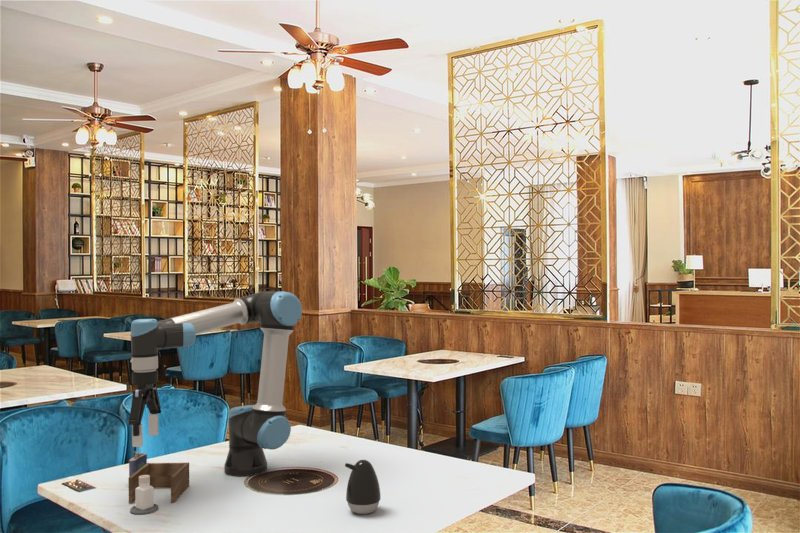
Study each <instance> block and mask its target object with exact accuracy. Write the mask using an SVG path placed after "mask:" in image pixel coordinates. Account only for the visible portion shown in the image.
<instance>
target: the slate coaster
mask: <svg viewBox="0 0 800 533" xmlns="http://www.w3.org/2000/svg"><path fill="white" fill-rule="evenodd" d="M158 510H159V505H158V504H156V503H154V506H153V507H151V508H148V509H146V510H141V509H137V508H136V507H135V505H134V506H132V507H130V510H129V513H130V514H132V515H135V516H136V515H137V516H139V515H142V516H143V515H148V514H152V513H156V512H157V511H158Z"/></svg>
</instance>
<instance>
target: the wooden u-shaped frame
mask: <svg viewBox="0 0 800 533" xmlns="http://www.w3.org/2000/svg"><path fill="white" fill-rule="evenodd" d="M141 475H150V486H152V487H153V489H169V488H170V503H171V504H174V503H176V502H177V501H178V500H179V499H180V498H181V496H182V495H183V494H184V493H185V492H186V491H187V490H189V488H190V462H148V463H147V464H145V465H144V466H143V467H142V468H140V469H139V470H138V471H136V472H135V473H134V474H133V475H131V476H130V477H129V476H128V504H133V503H135V489H136V488H137V487H139V476H141Z"/></svg>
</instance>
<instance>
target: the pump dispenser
mask: <svg viewBox="0 0 800 533" xmlns="http://www.w3.org/2000/svg"><path fill="white" fill-rule="evenodd" d="M344 466H345V467H346V469H347V468H348V469H350V470H351V471H350V474H349V478H348V480H347V486H346V494H345V500H346V502H347V505H348V507H349V509H350V510H351V511H352V512H353V513H355V514H358V515H368V514H369V515H370V514H372V513H373V512H374V511H376V510H377V508H378V506H379V504H380V501H381V488H380V483H379V478H378V476H377V473H376V471H375V468H374V466H373V464H372V463H371V462H370V461H368V460H367V459H359V460H357V461H356V463H355V464H352V463H345V465H344Z"/></svg>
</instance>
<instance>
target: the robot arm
mask: <svg viewBox="0 0 800 533" xmlns="http://www.w3.org/2000/svg"><path fill="white" fill-rule="evenodd" d="M302 314H303V306H302V303H301V300H300V299H299V298H298V296H296V295H295V294H293V293H292V292H288V291H284V290H282V291H279V290H278V291H276V290H275V291H271V290H269V291H268V290H265V291H259V292H255V293H253V294H249V295H245V296H242V297H239V298H235V299H234V300H233V301H232V302H230V303H226V304H221V305H218V306H214V307H210V308H206V309H202V310H197V311H193V312H190V313H185V314H182V315H178V316H173V317H170V318H166V319H161V320H157V319H155V318H139V319H134V320H132V322H131V326H130V344H131V345H130V347H131V348H130V349H131V350H130V351H131V359H130V361H129V363H131V370H132V372H131V384H132V385H135V386H136V387H137V389H133V390H132V400H131V406H130V411H129V419H128V425H129V426H131V431H132V432H131V439H132V442H131V443H132V444H131V445H132V448H136V447H137V448H139V447H140V448H142V447H143V445H144V444H143V442H144V440H143V438H144V437H143V435H144V434H143V423H142V420H143V416H144V413H145V408H146V406H147V408H148V412H149V414H148V436H158V435H159V414H161V413H162V409H161V402H160V398H159V392H158V387H157V386H158V384H157V383H158V382H159V371H158V370H157V369H158V368H159V353H158V352H159V350H163V349H175V348H187V347H190V346H191V347H192V346H193V345H194V344H195V342H196V340H197V339H196V338H197V335H200V334H203V333H206V332H207V333H208V332H210V331H213V330H218V329H222V328H225V327H228V326H232V325H233V326H234V325H236V324H240V325H241V326H242V325H243V326H244V325H247V324H259V323H260V326H259V328H260V330H261V331H262V332H263V343H262V353H261V363H260V372H259V374H260V375H259V383H258V392H257V393H258V394H257V402H256V404H247V405H241V406H235V407H231V409H230V410H229V411H228V412H229V413H228V444H229V446H228V453H227V455H226V459H225V462H224V466H223V467H224V469H223V470H224V474H226V475H228V476H234V477H247V476H255V475H259V474H262V473H264V472H266V471H268V460H267V457H266V455H265V451H264V450H277V449H279V448H281V447H282V446H284V444H285V443H287V442H288V440H289V437H290V435H291V432H292V431H291V430H292V428H291V423H290V421H289V420H288V418H286V416H287V415H286V414H287V409H286V407H285V406H284V405H283V402H284V401H283V400H284V389H285V380H286V372H287V371H286V369H287V368H286V367H287V361H288V360H287V359H288V348H289V340H290V335H291V334H292V333H293V332H294V331H295V325H296V324H297V323H298V322H299V321H300V320H301V318H302ZM254 474H255V475H254Z"/></svg>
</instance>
